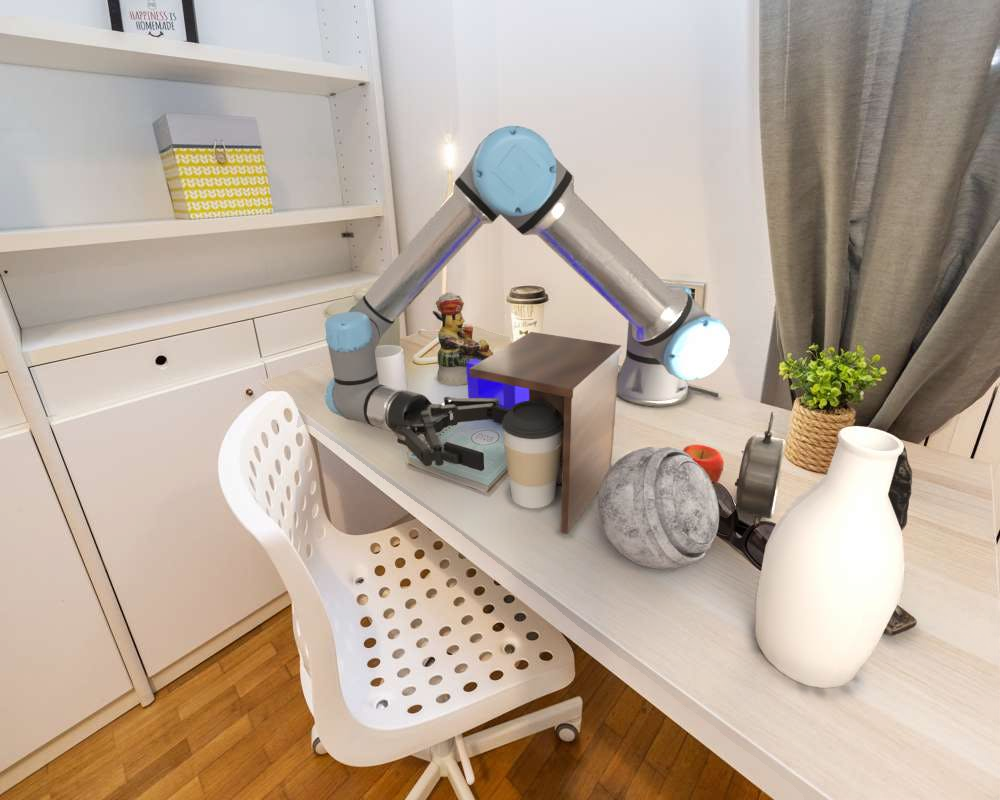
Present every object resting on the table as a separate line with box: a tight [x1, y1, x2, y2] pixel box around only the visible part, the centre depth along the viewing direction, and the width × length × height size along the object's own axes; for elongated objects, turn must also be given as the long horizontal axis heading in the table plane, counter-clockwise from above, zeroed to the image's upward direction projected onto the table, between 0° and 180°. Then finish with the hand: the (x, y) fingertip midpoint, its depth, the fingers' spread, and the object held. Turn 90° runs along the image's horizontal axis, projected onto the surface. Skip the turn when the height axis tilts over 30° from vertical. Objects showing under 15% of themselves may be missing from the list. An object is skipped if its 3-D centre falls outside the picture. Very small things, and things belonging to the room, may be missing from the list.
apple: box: [682, 444, 725, 484], centre depth 77 cm, size 6×6×8 cm
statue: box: [884, 445, 918, 636], centre depth 53 cm, size 4×7×20 cm, turn 22°
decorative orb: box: [597, 446, 720, 570], centre depth 64 cm, size 15×14×15 cm
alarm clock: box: [734, 411, 786, 525], centre depth 71 cm, size 11×5×16 cm, turn 148°
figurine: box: [432, 292, 494, 386], centre depth 119 cm, size 12×15×20 cm
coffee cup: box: [501, 400, 564, 509], centre depth 76 cm, size 9×9×15 cm
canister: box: [322, 287, 401, 347], centre depth 123 cm, size 18×18×21 cm
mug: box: [375, 345, 409, 391], centre depth 108 cm, size 12×8×12 cm
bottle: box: [754, 425, 906, 689], centre depth 48 cm, size 11×11×25 cm
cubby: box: [469, 331, 623, 535], centre depth 76 cm, size 15×18×22 cm
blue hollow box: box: [466, 359, 529, 421], centre depth 107 cm, size 21×14×10 cm, turn 134°
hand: (507, 440), depth 78 cm, fingers open, 13 cm apart
